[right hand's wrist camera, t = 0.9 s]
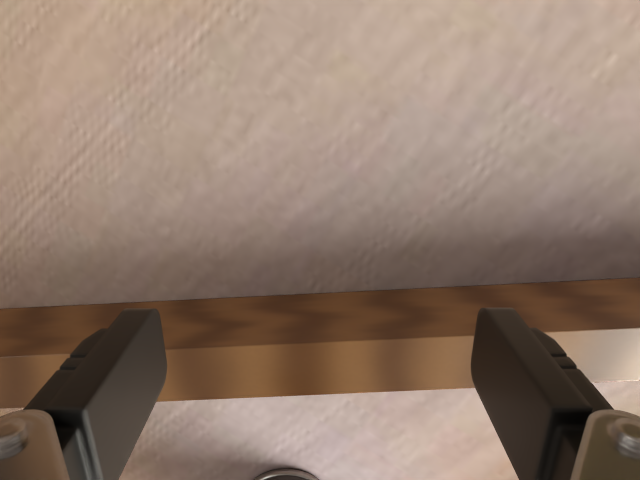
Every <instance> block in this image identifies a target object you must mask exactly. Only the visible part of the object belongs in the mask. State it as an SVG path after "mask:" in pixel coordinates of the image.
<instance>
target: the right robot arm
mask: <svg viewBox="0 0 640 480" xmlns="http://www.w3.org/2000/svg"><path fill="white" fill-rule="evenodd" d="M166 374H167V358H166V352H165V345H164V338H163V331H162V325H161V318H160V314H159V312H158V310H157V309H155V308H126V309H124V310H122V311H121V313H120V314H119V315H118V316H117V318H116V319H115V320H114V321H113V323H112V324H111V325H110V326H109V328H101V329H100V330H98V331H96V332H95V333H93V334H92V335H90V336H89V337H87V338H86V339H84V340H83V341H82V342H81V343H80V344H79V345H78V346H77V347H76V349H75V350H74V351H73V352H72V353H71V354H70V358H67V359H66V360H65V361H64V363H63V364H62V365H61V366H60V369H59V370H57V371H56V372H55V373H54V374H53V375H52V377H51V378H50V379H49V380H48V381H47V382H46V384H45V385H44V386H43V387H42V388H41V389H40V391H39V392H38V393H37V394H36V395H35V396H34V398H33V399H32V400H31V401H30V402H29V403H28V405H27V406H26V407H25V408H24V409H23V410H20V411H16V412H12V413H9V414H6V415H3V416H1V417H0V480H118V479H119V477H120V475H121V473H122V471H123V469H124V467H125V465H126V463H127V461H128V459H129V457H130V454H131V452H132V450H133V448H134V446H135V444H136V442H137V440H138V438H139V436H140V434H141V432H142V430H143V428H144V426H145V423H146V421H147V419H148V417H149V415H150V413H151V411H152V409H153V407H154V405H155V403H156V401H157V399H158V397H159V395H160V393H161V390H162V388H163V386H164V383H165V380H166ZM471 375H472V380H473V383H474V386H475V388H476V390H477V392H478V394H479V397H480V399H481V401H482V403H483V405H484V407H485V409H486V411H487V413H488V415H489V417H490V420H491V422H492V424H493V426H494V428H495V430H496V432H497V434H498V436H499V438H500V440H501V443H502V445H503V447H504V449H505V451H506V453H507V455H508V457H509V459H510V461H511V463H512V466H513V468H514V470H515V472H516V474H517V476H518V478H519V480H640V417H639V416H637V415H634V414H631V413H628V412H624V411H620V410H614V409H613V408H612V406H611V405H610V404H609V403H608V402H607V401H606V399H605V398H604V397H603V396H602V395H601V394H600V392H599V391H598V390H597V389H596V388H595V386H594V385H593V384H592V383H591V382H590V381H589V379H588V378H587V377H586V376H585V375H584V374H583V372H582V371H581V370H580V369H577V365H576V364H575V363H574V362H573V361H572V359H571V358H570V357H567V353H566V352H565V351H564V350H563V349H562V348H561V346H560V345H559V344H558V343H557V342H556V341H555V340H554V339H553V338H551V337H550V336H548V335H547V334H545V333H544V332H542V331H541V330H539V329H537V328H529V327H528V325H527V324H526V323H525V322H524V320H523V319H522V318H521V317H520V315H519V314H518V313H517V312H516V310H515V309H513V308H481V309H480V310H479V312H478V315H477V321H476V328H475V335H474V342H473V348H472V355H471ZM254 480H319V479H317V478H316V477H314V476H313V475H311V474H309V473H306V472H303V471H299V470H294V469H278V470H272V471H269V472H266V473H264V474H262V475H260V476H258V477H257V478H255V479H254Z"/></svg>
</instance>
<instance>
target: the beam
mask: <svg viewBox="0 0 640 480" xmlns="http://www.w3.org/2000/svg"><path fill="white" fill-rule="evenodd" d="M126 308H155V309H157V310H158V312H159V314H160V318H161V325H162V331H163V338H164V345H165V352H166V358H167V374H166V380H165V383H164V386H163V388H162V390H161V393H160V395H159V397H158V399H157V401H156V402H160V401H183V400H206V399H229V398H252V397H275V396H298V395H321V394H344V393H367V392H390V391H413V390H436V389H459V388H475V386H474V383H473V380H472V375H471V355H472V348H473V342H474V335H475V328H476V321H477V315H478V312H479V310H480V309H481V308H513V309H515V310H516V312H517V313H518V314H519V315H520V317H521V318H522V319H523V320H524V322H525V323H526V324H527V325H528V327H529V328H537V329H539V330H541V331H542V332H544V333H545V334H547V335H548V336H550V337H551V338H553V339H554V340H555V341H556V342H557V343H558V344H559V345H560V346H561V348H562V349H563V350H564V351H565V352H566V353H567V357H570V358H571V359H572V361H573V362H574V363H575V364H576V365H577V369H580V370H581V371H582V372H583V374H584V375H585V376H586V377H587V378H588V379H589V381H590V382H591V383H596V382H619V381H640V278H626V279H605V280H585V281H564V282H544V283H523V284H503V285H482V286H462V287H441V288H421V289H401V290H380V291H360V292H339V293H319V294H298V295H278V296H257V297H237V298H216V299H196V300H175V301H155V302H134V303H114V304H94V305H73V306H53V307H32V308H12V309H0V408H22V407H26V406H27V405H28V403H29V402H30V401H31V400H32V399H33V398H34V396H35V395H36V394H37V393H38V392H39V391H40V389H41V388H42V387H43V386H44V385H45V384H46V382H47V381H48V380H49V379H50V378H51V377H52V375H53V374H54V373H55V372H56V371H57V370H59V369H60V366H61V365H62V364H63V363H64V361H65V360H66V359H67V358H70V354H71V353H72V352H73V351H74V350H75V349H76V347H77V346H78V345H79V344H80V343H81V342H82V341H83V340H84V339H86V338H87V337H89V336H90V335H92V334H93V333H95V332H96V331H98V330H100V329H101V328H109V326H110V325H111V324H112V323H113V321H114V320H115V319H116V318H117V316H118V315H119V314H120V313H121V311H122V310H124V309H126Z"/></svg>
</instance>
